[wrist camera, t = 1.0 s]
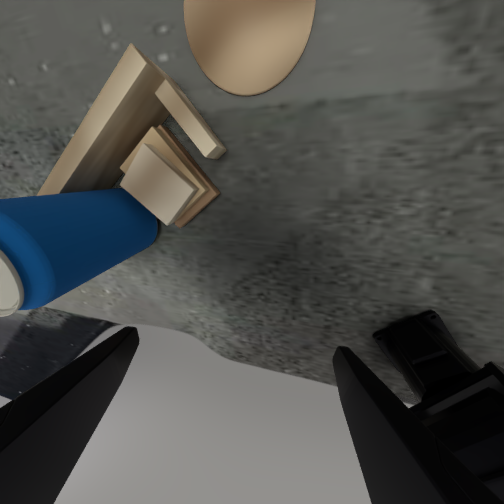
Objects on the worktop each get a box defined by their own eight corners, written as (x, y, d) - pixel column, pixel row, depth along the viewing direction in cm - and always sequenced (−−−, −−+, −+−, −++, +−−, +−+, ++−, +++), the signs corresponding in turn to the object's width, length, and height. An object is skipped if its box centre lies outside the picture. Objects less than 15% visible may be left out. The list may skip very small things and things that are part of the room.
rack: (227, 150, 17) (207, 141, 12) (117, 258, 23) (76, 280, 18) (175, 81, 16) (131, 43, 11) (73, 215, 22) (16, 227, 17)
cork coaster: (340, 20, 13) (342, 16, 13) (240, 123, 16) (239, 122, 16) (258, -138, 11) (257, -148, 11) (161, 13, 14) (158, 9, 14)
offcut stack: (220, 193, 18) (207, 197, 15) (184, 225, 20) (166, 235, 17) (167, 127, 17) (140, 116, 14) (133, 168, 19) (102, 167, 15)
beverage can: (94, 215, 21) (-108, 261, 10) (125, 173, 19) (-91, 174, 8) (139, 258, 22) (4, 340, 11) (173, 223, 20) (46, 284, 9)
